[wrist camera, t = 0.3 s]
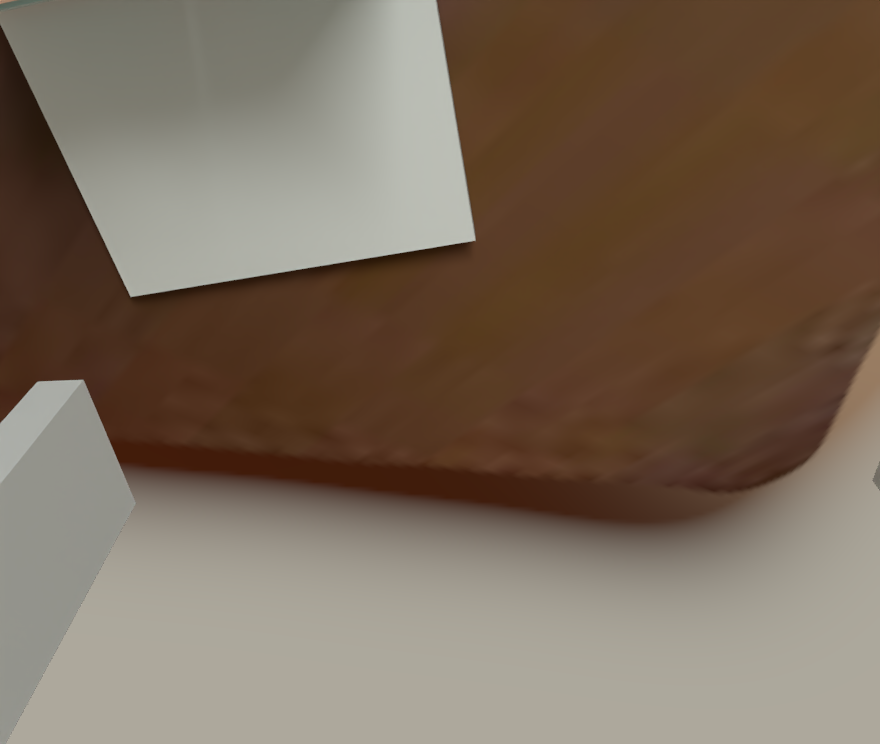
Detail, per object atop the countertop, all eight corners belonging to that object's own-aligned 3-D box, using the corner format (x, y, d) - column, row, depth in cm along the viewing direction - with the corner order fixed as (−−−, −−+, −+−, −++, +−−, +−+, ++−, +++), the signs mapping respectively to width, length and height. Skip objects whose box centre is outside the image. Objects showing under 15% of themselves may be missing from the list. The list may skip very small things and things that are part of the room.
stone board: (-110, -245, 28) (-132, -251, 27) (374, -378, 25) (371, -390, 24) (138, 287, 41) (130, 296, 40) (474, 232, 38) (475, 240, 37)
